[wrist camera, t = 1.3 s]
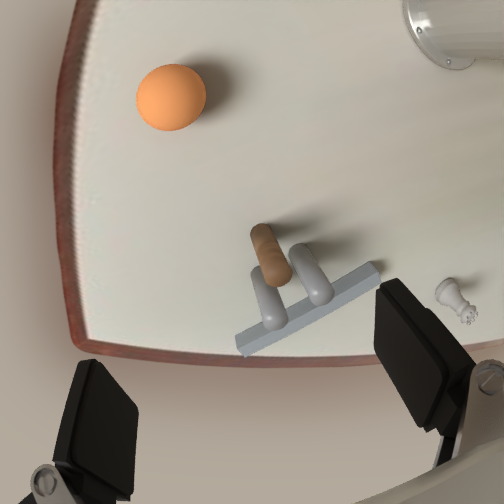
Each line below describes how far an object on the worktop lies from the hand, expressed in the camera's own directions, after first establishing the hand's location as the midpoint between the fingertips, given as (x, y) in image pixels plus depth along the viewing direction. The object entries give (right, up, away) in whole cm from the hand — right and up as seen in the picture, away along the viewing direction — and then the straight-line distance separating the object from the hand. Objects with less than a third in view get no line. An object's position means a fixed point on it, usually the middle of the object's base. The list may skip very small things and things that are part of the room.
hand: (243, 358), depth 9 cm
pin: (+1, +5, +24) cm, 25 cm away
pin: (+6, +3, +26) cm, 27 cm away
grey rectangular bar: (+7, -3, +30) cm, 31 cm away
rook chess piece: (+32, -3, +34) cm, 46 cm away
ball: (-7, +16, +14) cm, 22 cm away
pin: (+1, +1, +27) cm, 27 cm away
